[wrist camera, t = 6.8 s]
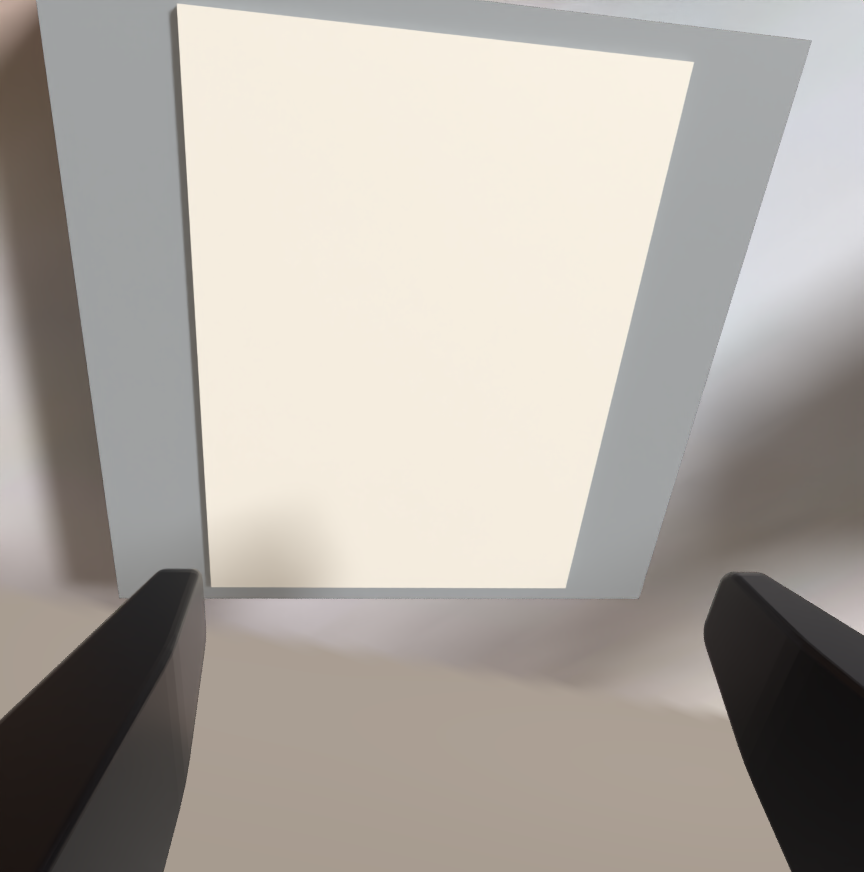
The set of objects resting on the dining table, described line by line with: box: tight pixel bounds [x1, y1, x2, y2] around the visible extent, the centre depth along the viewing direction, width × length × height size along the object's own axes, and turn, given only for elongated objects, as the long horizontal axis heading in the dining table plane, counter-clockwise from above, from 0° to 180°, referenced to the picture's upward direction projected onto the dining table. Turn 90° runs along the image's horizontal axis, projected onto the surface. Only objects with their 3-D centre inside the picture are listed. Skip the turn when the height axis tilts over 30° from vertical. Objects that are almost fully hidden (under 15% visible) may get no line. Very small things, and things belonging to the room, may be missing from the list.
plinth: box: [36, 0, 812, 599], centre depth 15 cm, size 12×12×3 cm
